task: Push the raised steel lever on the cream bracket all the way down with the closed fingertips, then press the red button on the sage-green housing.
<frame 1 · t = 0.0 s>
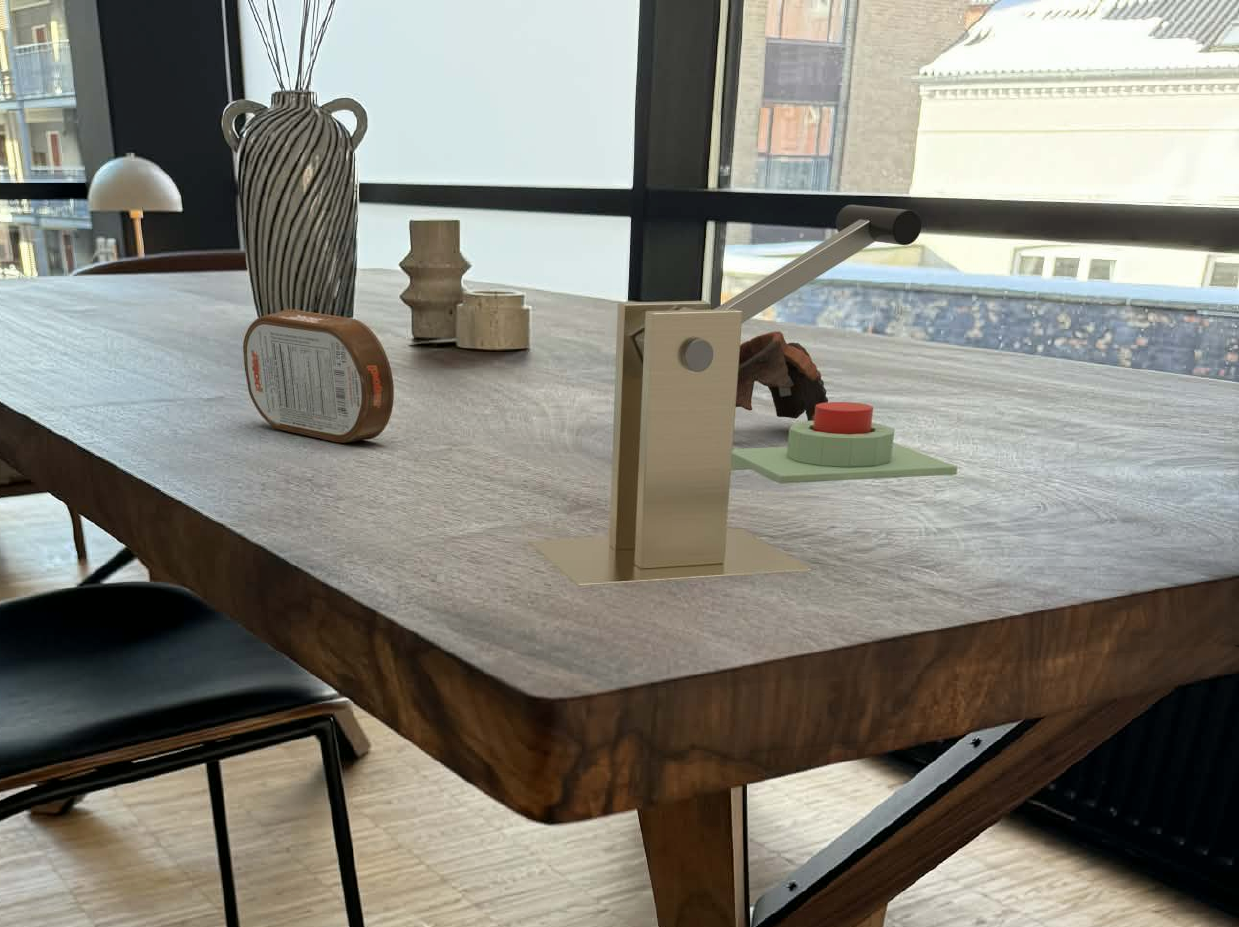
housing: (835, 484, 98), on the table
bracket: (664, 580, 77), on the table
lever: (770, 289, 72), point 13 cm above the table, hinge at 28.0°
button: (842, 420, 96), point 4 cm above the table, slide at 0.1 cm
crumpled brown leather: (768, 438, 114), on the table
tin: (317, 438, 114), on the table
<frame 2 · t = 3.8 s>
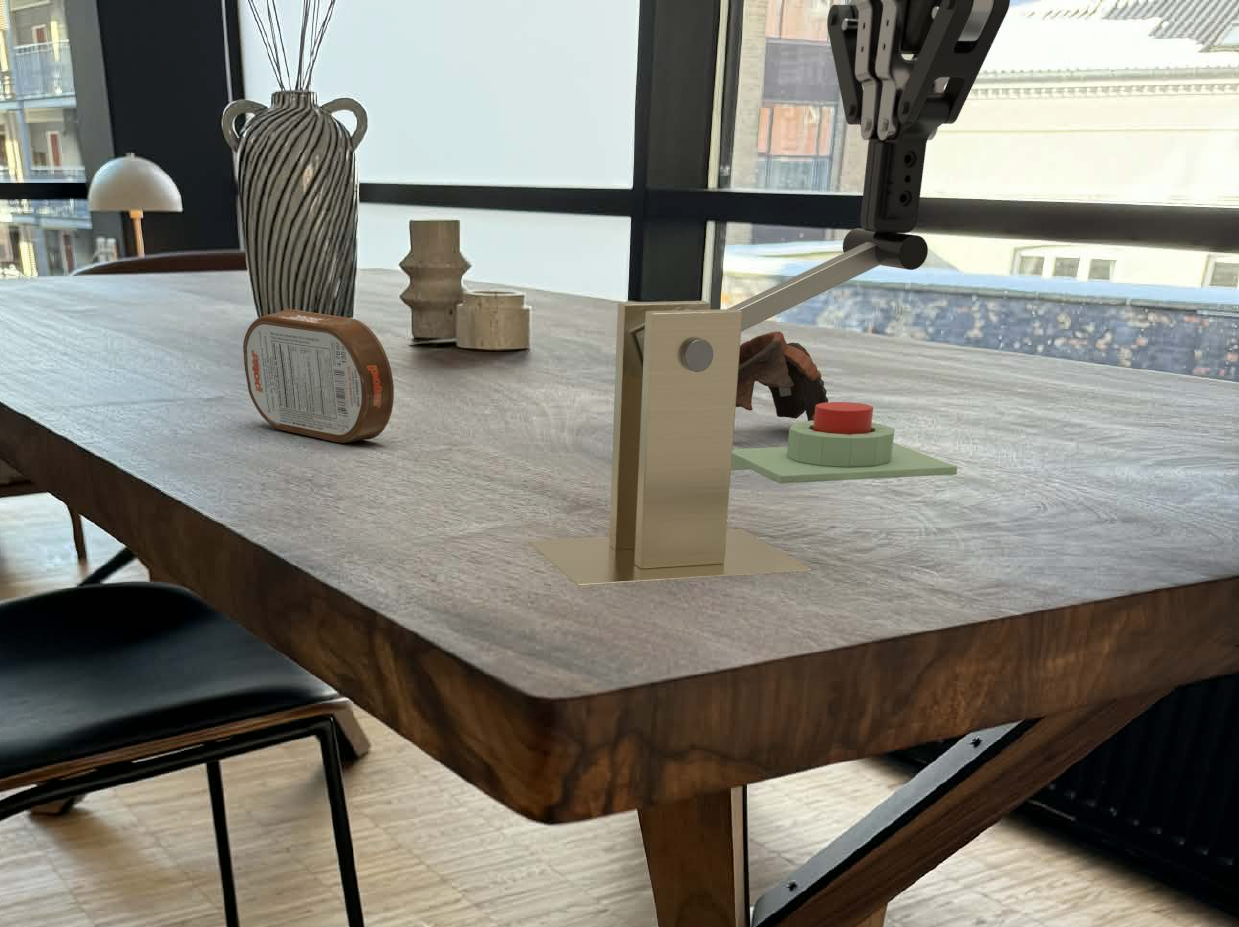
hand: (887, 230, 72), 16 cm above the table, tool pointing down, fingers closed
lever: (774, 301, 72), point 13 cm above the table, hinge at 22.0°
everything else where it was.
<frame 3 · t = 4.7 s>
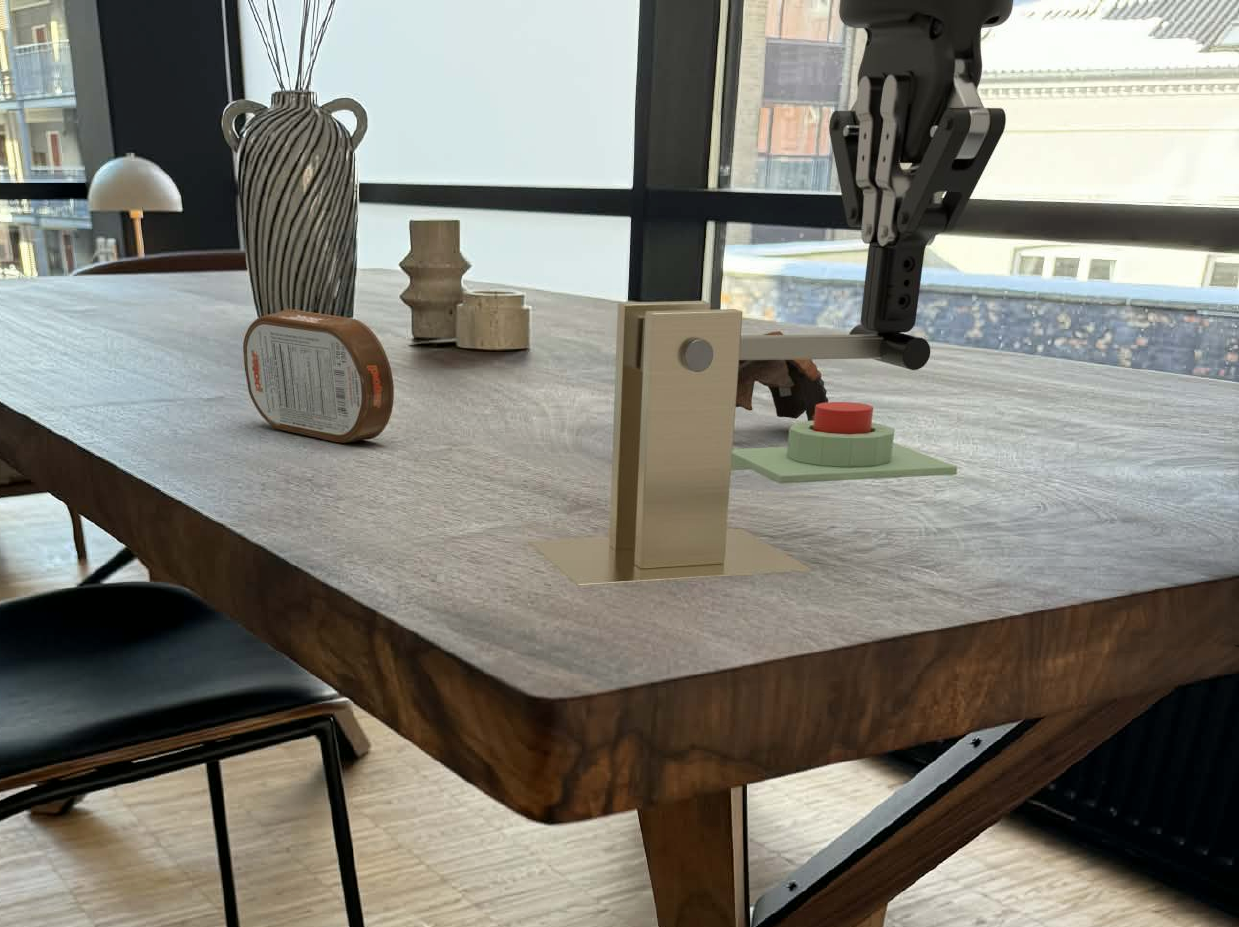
hand: (886, 330, 74), 12 cm above the table, tool pointing down, fingers closed
lever: (777, 347, 73), point 11 cm above the table, hinge at -1.2°, touching gripper
everything else where it was.
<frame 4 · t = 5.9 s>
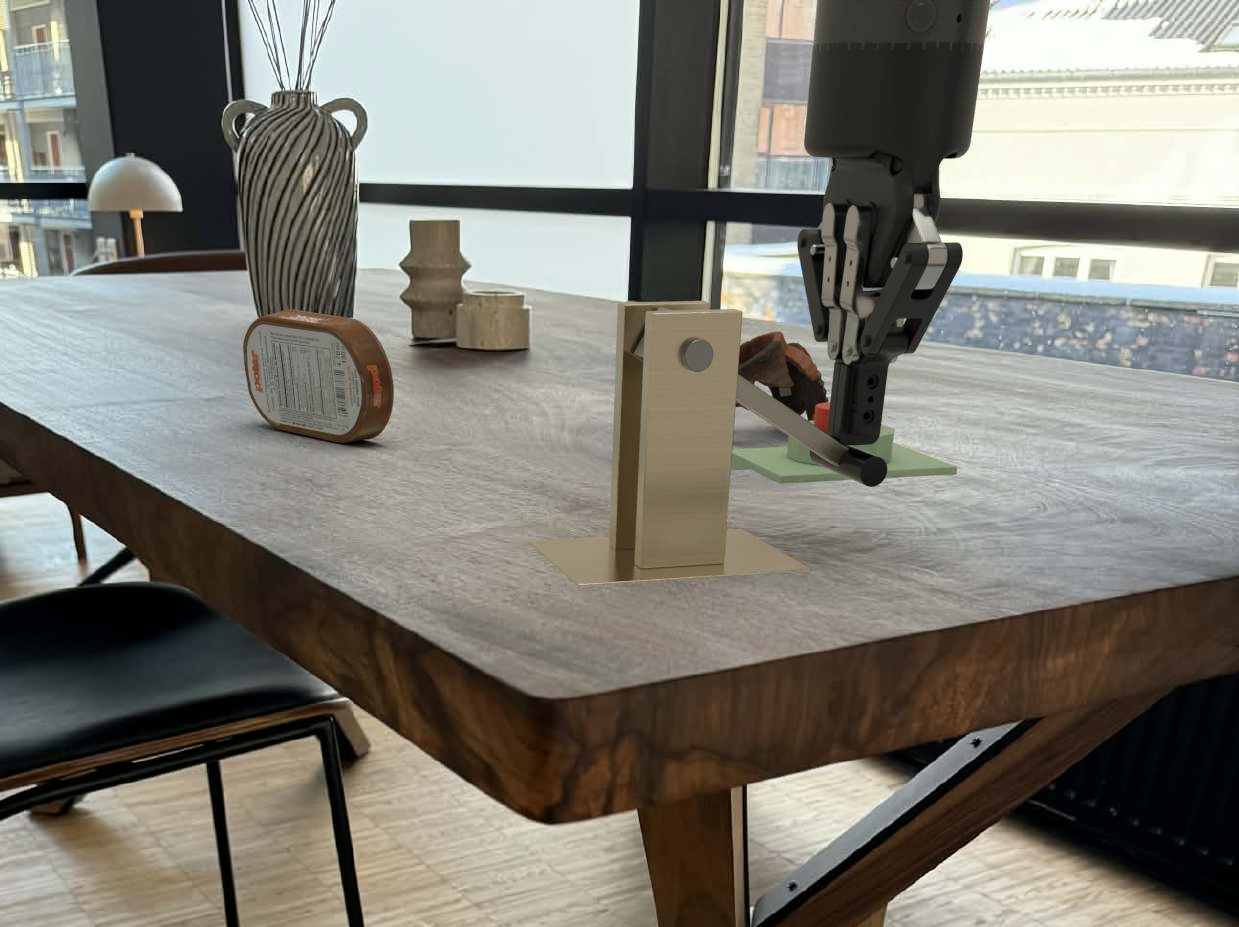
hand: (852, 441, 76), 6 cm above the table, tool pointing down, fingers closed
lever: (759, 402, 74), point 8 cm above the table, hinge at -30.3°, touching gripper
everything else where it was.
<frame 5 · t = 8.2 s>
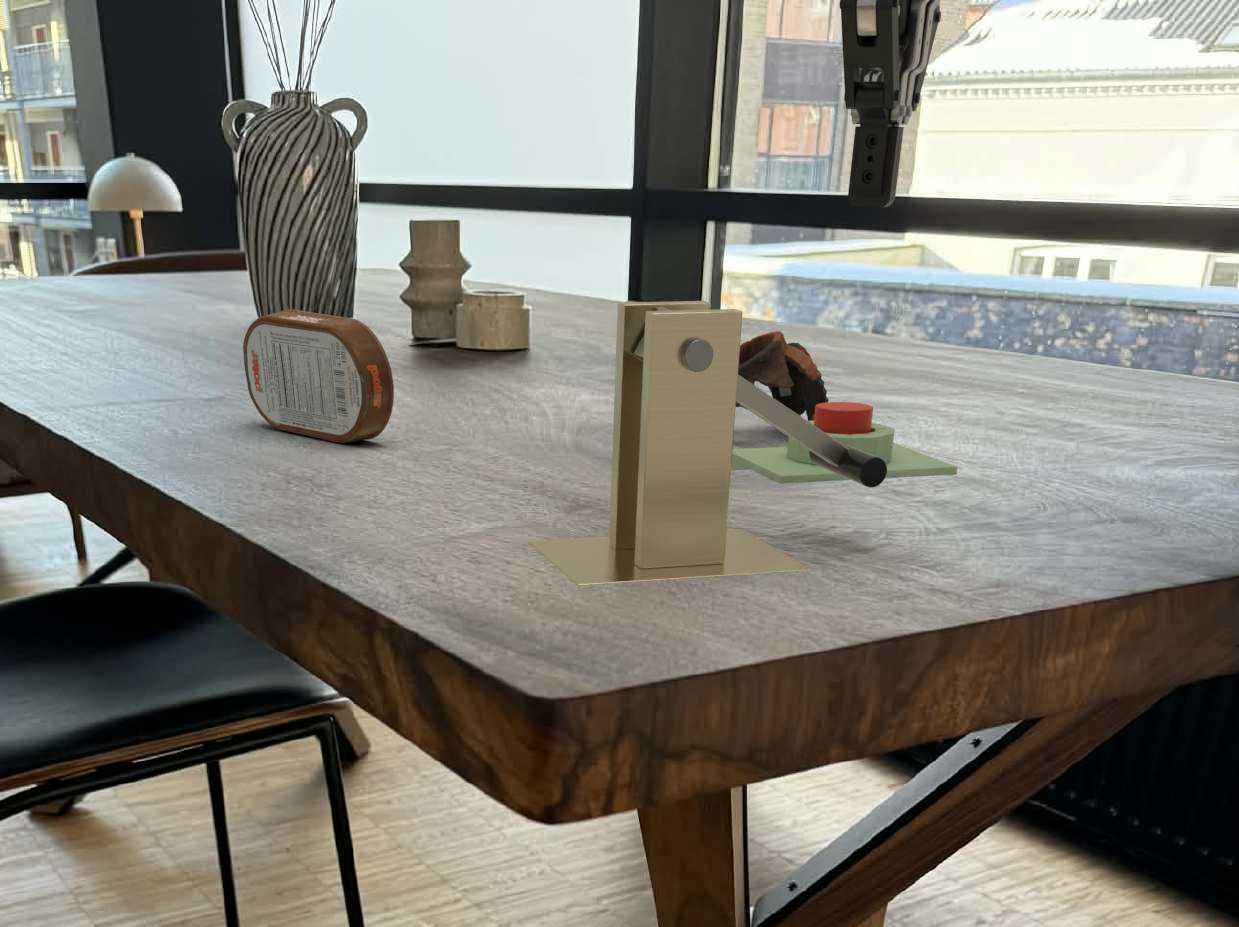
hand: (870, 206, 80), 17 cm above the table, tool pointing down, fingers closed
lever: (759, 402, 74), point 8 cm above the table, hinge at -30.5°
everything else where it was.
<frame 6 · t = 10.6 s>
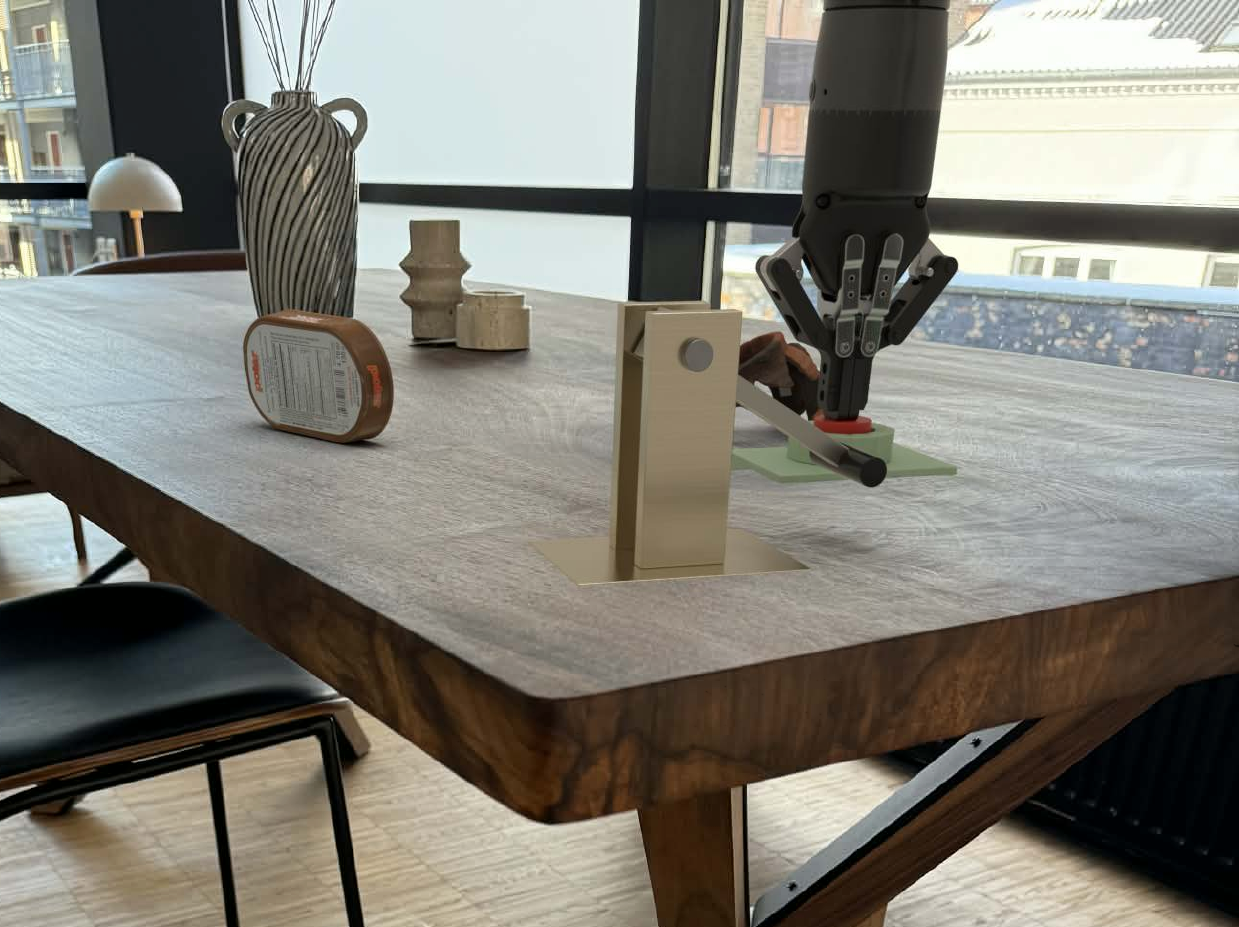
hand: (840, 418, 96), 4 cm above the table, tool pointing down, fingers closed
button: (841, 432, 97), point 3 cm above the table, slide at -0.7 cm, touching gripper
everything else where it was.
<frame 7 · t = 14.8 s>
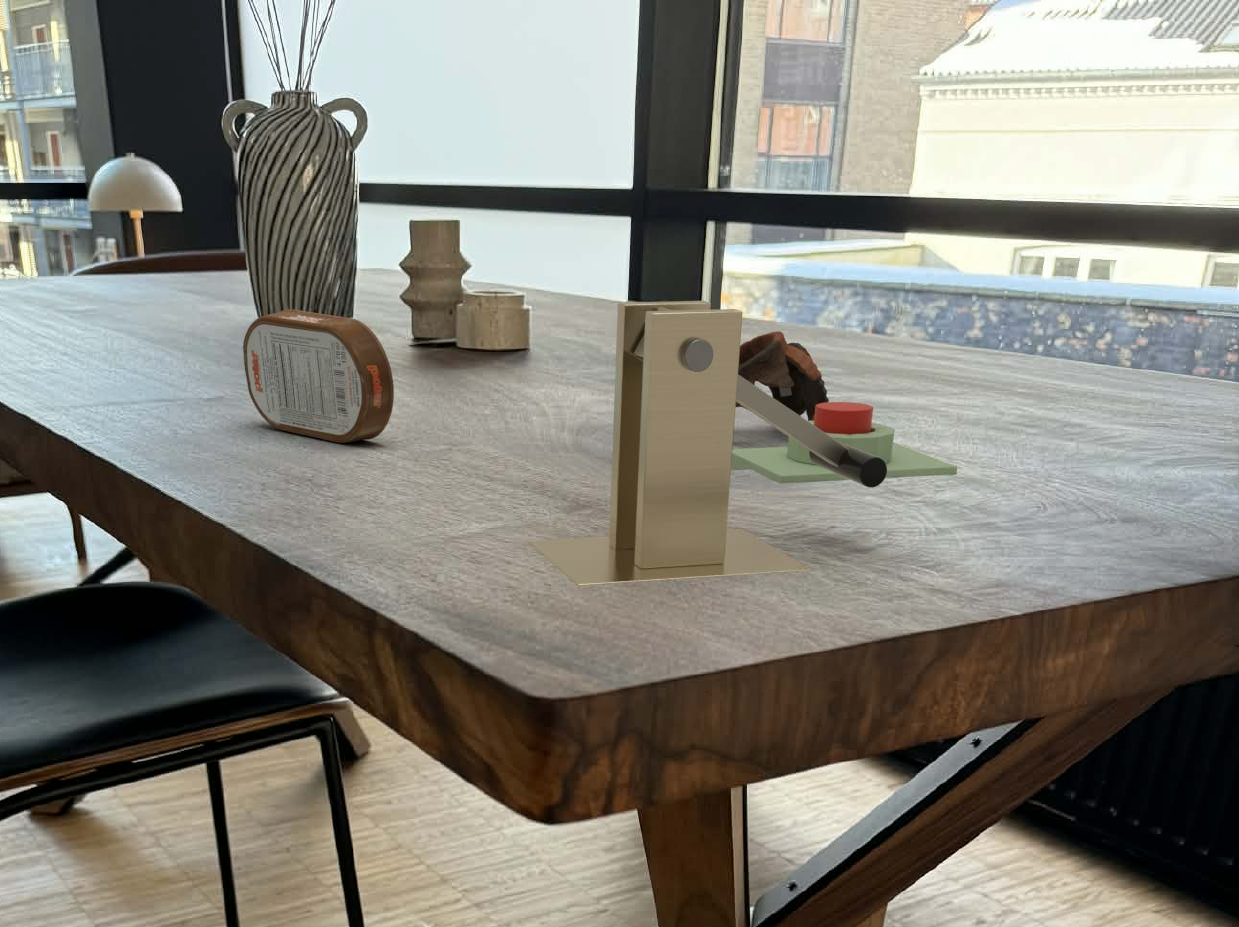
button: (842, 420, 96), point 4 cm above the table, slide at 0.1 cm
everything else where it was.
at the end: lever at -30° (first picture: +28°); button pushed in 1.1 cm at the most during the clip, back to where it started at the end; button slide at 0.1 cm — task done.
